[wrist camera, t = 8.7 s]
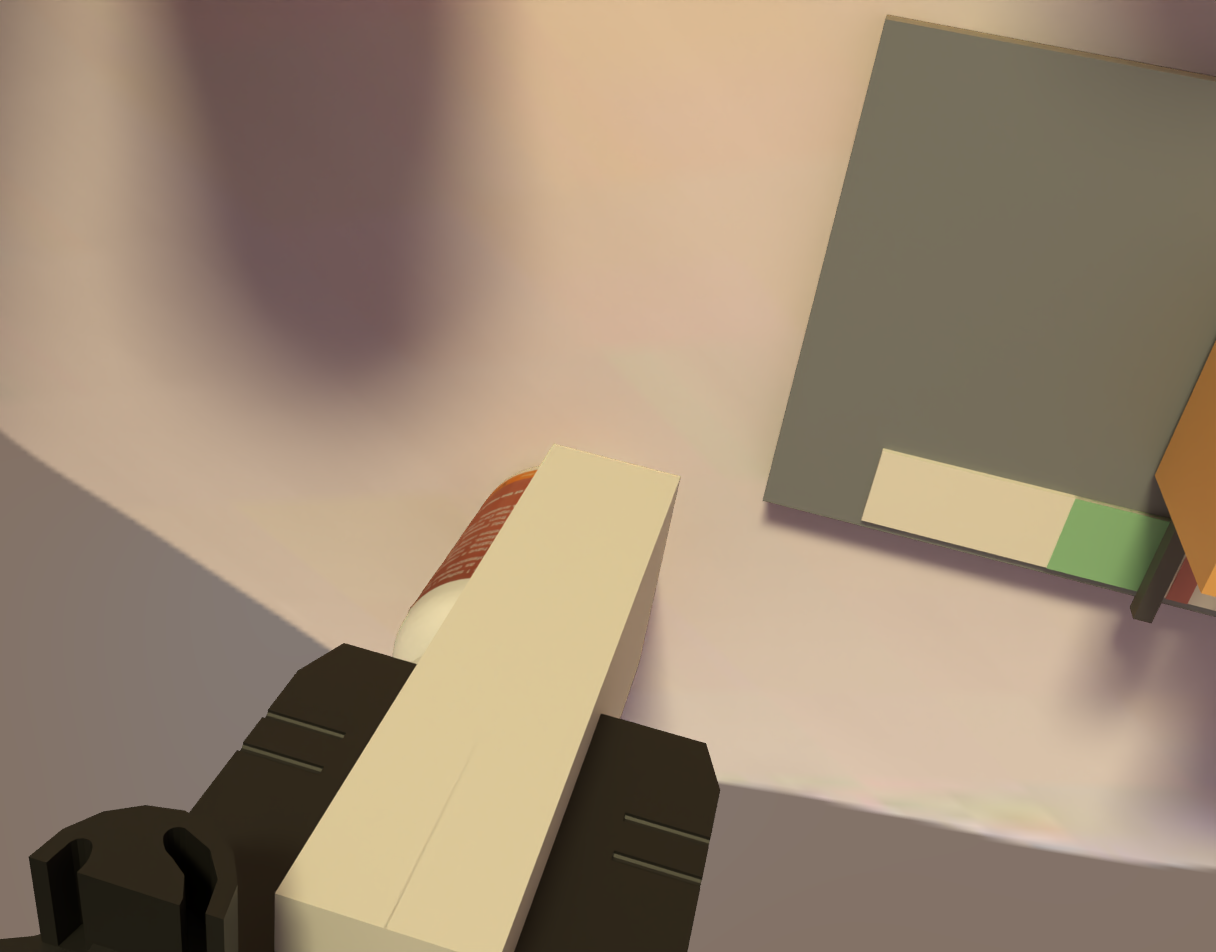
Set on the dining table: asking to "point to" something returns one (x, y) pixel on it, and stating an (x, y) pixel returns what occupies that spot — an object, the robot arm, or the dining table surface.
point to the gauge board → (1011, 306)
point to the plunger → (1187, 500)
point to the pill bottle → (457, 569)
